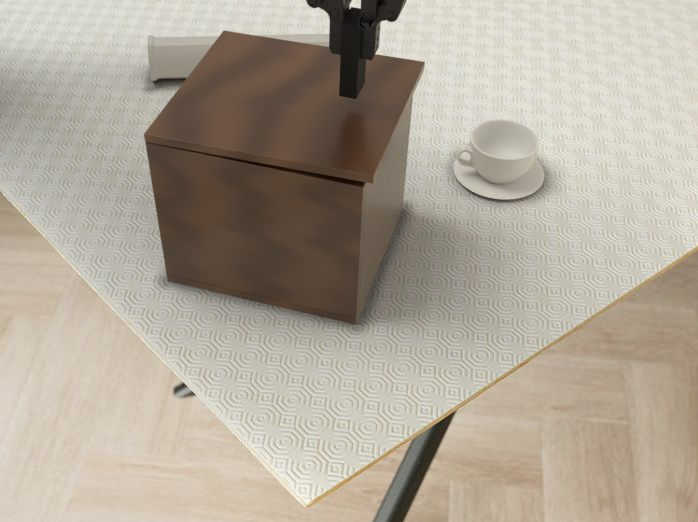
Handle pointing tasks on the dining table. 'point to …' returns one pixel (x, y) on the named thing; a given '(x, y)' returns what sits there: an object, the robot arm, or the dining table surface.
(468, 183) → the teacup
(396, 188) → the chest
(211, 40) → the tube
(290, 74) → the chest lid
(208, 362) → the dining table surface
